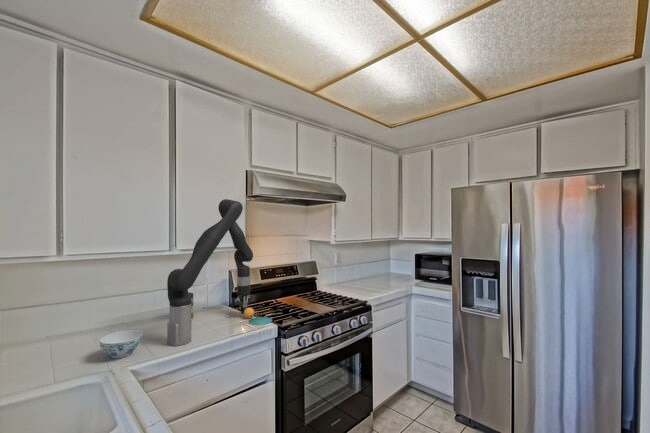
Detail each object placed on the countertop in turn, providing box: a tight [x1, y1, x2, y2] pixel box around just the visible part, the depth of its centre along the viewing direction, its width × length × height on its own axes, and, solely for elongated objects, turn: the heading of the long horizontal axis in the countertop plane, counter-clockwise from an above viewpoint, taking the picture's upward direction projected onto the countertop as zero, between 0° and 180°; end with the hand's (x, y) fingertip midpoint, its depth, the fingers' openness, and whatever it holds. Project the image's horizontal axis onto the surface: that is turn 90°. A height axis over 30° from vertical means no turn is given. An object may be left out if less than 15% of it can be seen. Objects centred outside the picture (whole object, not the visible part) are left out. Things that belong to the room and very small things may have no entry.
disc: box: [248, 316, 273, 326], centre depth 173 cm, size 13×13×1 cm
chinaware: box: [98, 329, 143, 359], centre depth 129 cm, size 15×15×8 cm
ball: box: [243, 307, 255, 319], centre depth 178 cm, size 6×6×6 cm
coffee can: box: [188, 292, 195, 320], centre depth 176 cm, size 10×10×14 cm
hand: (243, 313), depth 180 cm, fingers closed
